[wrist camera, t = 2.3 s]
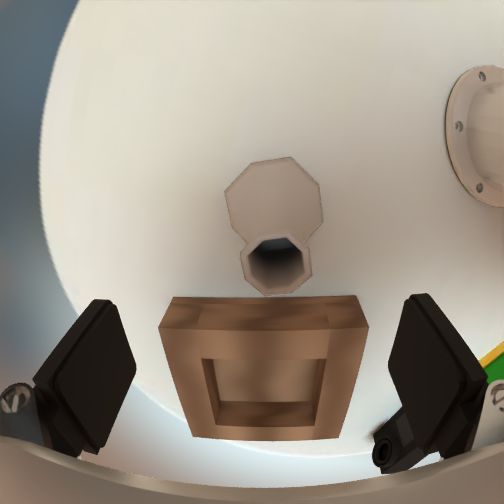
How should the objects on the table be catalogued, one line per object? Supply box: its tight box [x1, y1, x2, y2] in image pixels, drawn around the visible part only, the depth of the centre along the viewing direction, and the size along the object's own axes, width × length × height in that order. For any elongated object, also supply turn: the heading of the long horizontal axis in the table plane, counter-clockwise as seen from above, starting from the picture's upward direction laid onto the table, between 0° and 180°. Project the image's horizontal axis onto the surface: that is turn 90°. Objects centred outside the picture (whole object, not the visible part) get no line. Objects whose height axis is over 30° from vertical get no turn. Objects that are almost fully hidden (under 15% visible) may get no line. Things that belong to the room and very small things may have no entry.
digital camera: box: [372, 407, 427, 474], centre depth 29 cm, size 10×5×7 cm, turn 161°
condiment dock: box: [158, 296, 369, 441], centre depth 27 cm, size 16×16×4 cm
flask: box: [224, 157, 323, 296], centre depth 18 cm, size 7×7×10 cm
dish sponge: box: [479, 341, 504, 385], centre depth 28 cm, size 7×14×2 cm, turn 130°
